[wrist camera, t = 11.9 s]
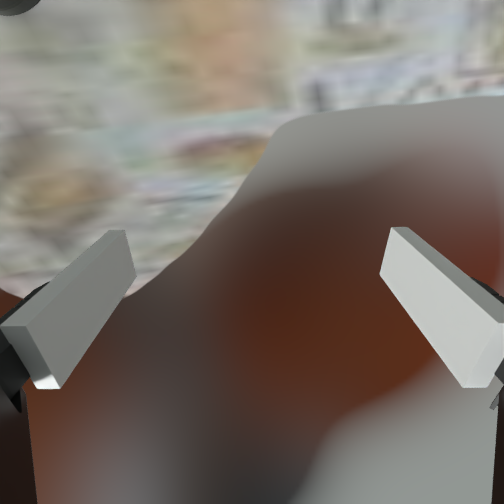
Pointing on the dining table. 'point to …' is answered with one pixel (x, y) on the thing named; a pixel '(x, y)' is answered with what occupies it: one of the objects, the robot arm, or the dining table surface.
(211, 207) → the dining table surface
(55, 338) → the robot arm
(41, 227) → the dining table surface
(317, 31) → the dining table surface
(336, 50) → the dining table surface
